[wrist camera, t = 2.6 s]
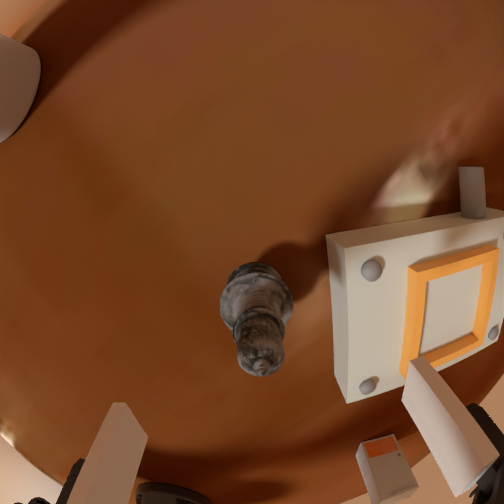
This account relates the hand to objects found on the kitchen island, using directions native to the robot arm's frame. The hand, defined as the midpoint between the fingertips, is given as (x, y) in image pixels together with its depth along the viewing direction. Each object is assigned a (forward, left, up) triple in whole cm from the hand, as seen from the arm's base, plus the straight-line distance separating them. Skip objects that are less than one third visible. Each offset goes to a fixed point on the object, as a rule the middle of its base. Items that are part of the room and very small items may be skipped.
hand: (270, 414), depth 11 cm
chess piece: (0, 0, -15) cm, 15 cm away
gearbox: (+18, -2, -15) cm, 23 cm away
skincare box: (+14, -31, -15) cm, 37 cm away
